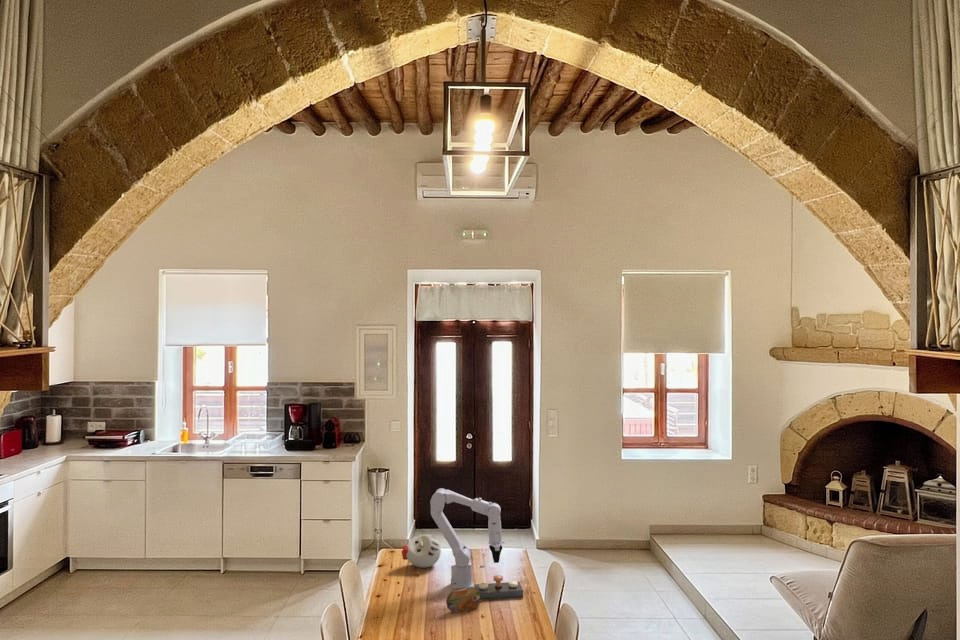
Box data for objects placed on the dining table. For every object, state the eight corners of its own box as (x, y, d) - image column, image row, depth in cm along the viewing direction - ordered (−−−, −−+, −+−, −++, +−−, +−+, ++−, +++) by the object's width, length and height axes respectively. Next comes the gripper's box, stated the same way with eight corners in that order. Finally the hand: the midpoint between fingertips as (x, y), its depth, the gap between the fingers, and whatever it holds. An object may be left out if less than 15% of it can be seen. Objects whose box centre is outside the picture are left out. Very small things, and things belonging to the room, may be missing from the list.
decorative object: (399, 564, 323) (398, 534, 323) (435, 559, 329) (435, 529, 329) (405, 575, 308) (405, 542, 309) (444, 569, 314) (443, 538, 315)
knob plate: (476, 600, 276) (476, 593, 276) (474, 591, 286) (474, 584, 286) (523, 597, 278) (523, 590, 278) (519, 588, 288) (519, 581, 288)
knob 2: (509, 595, 280) (509, 584, 280) (508, 591, 284) (508, 581, 284) (518, 594, 281) (518, 584, 281) (517, 591, 285) (517, 581, 285)
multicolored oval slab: (448, 615, 262) (448, 594, 262) (445, 612, 264) (444, 591, 265) (481, 607, 269) (481, 586, 269) (478, 604, 271) (477, 584, 272)
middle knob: (494, 588, 280) (494, 578, 280) (493, 585, 284) (493, 575, 284) (503, 588, 280) (503, 578, 280) (502, 584, 284) (502, 574, 284)
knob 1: (479, 596, 279) (479, 586, 279) (478, 593, 283) (478, 583, 283) (488, 596, 279) (488, 586, 280) (487, 592, 283) (487, 582, 284)
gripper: (505, 535, 286) (507, 567, 285) (501, 526, 300) (503, 556, 300) (489, 536, 285) (491, 568, 285) (486, 527, 300) (487, 557, 299)
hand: (496, 562), depth 292 cm, fingers closed
